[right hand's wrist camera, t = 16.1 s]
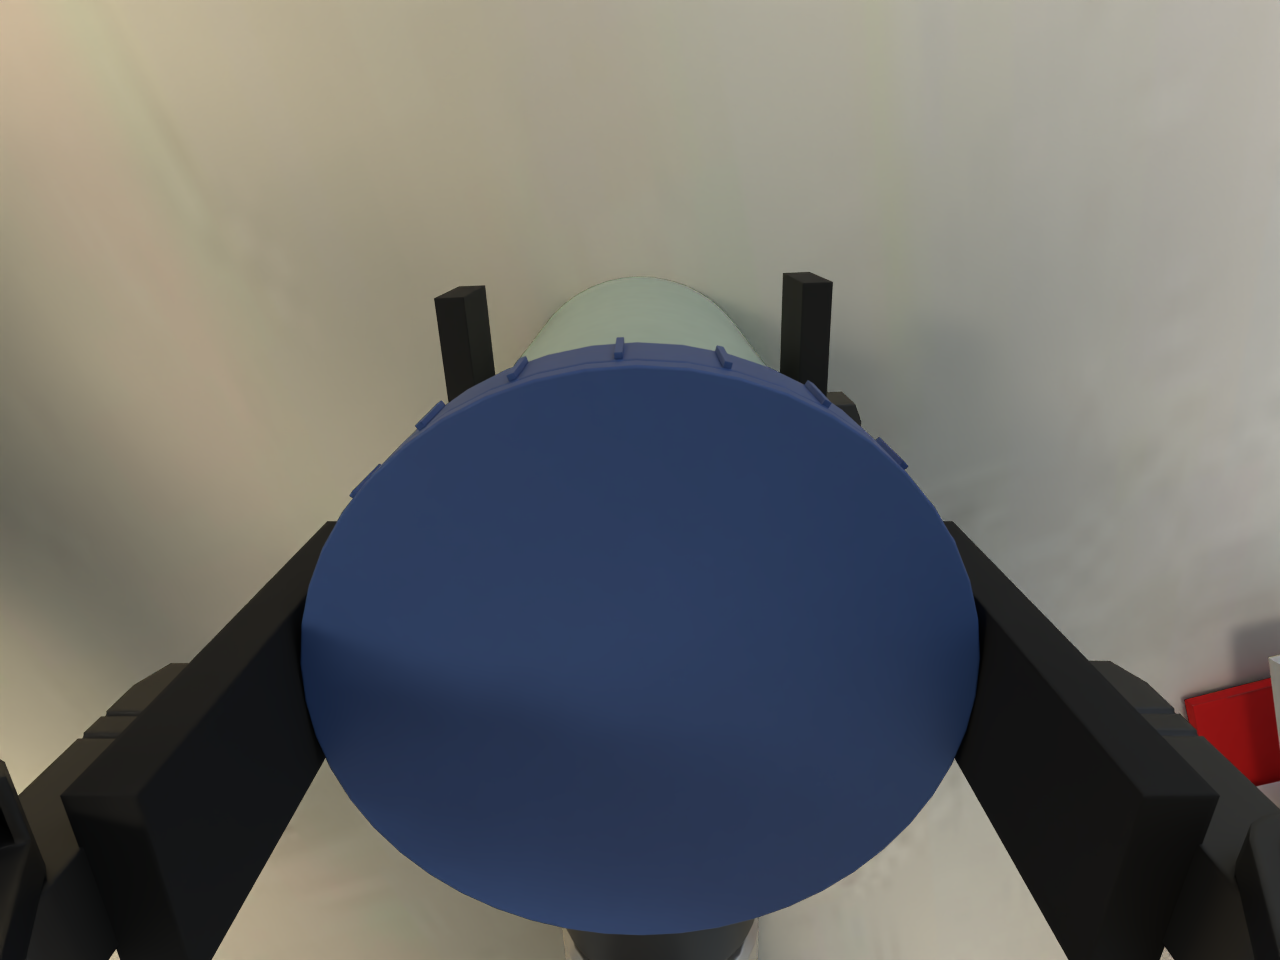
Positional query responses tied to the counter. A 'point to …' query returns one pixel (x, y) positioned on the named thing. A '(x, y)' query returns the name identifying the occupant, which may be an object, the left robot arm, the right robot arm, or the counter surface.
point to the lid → (640, 642)
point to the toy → (1245, 728)
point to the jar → (640, 319)
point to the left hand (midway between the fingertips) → (633, 284)
